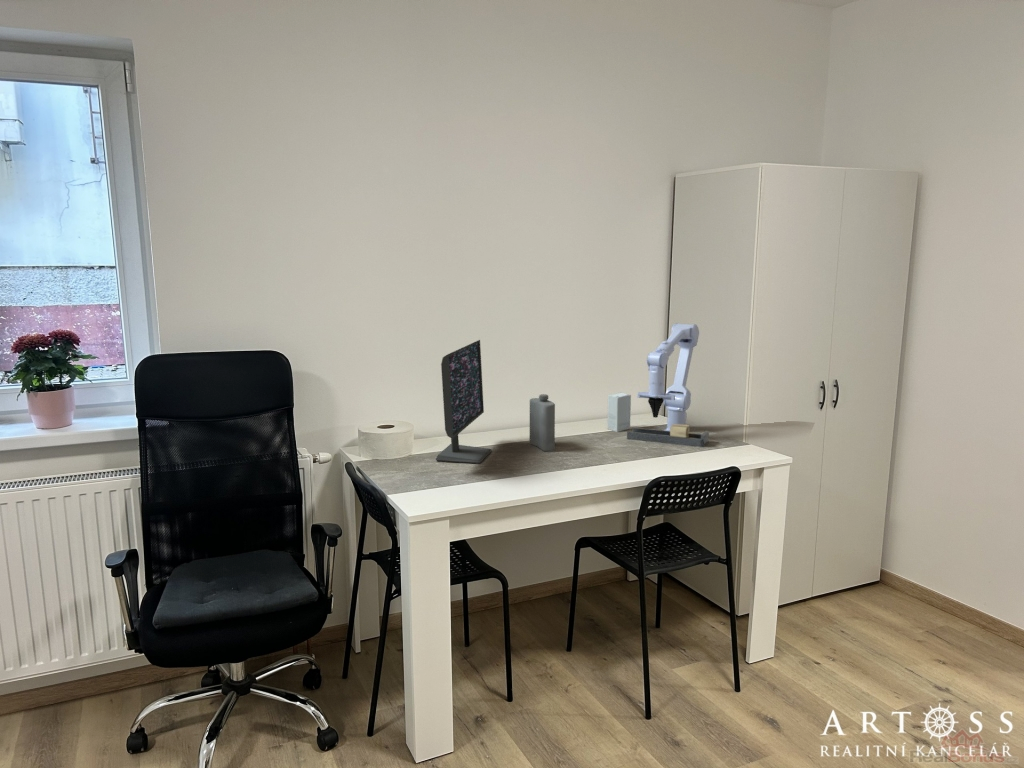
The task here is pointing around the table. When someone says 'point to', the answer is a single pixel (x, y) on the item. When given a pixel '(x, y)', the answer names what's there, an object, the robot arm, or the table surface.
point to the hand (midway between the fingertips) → (655, 417)
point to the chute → (668, 437)
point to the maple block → (679, 430)
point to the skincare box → (619, 412)
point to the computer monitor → (462, 401)
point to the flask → (542, 423)
